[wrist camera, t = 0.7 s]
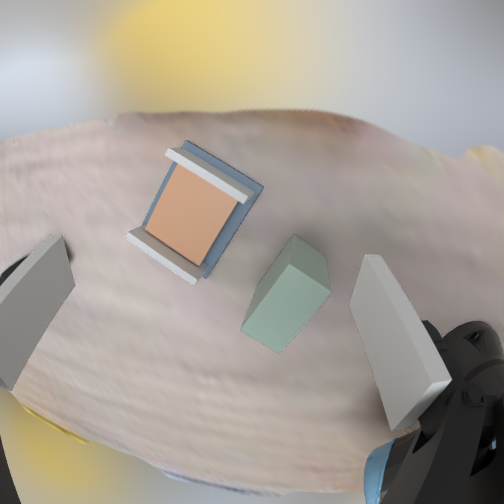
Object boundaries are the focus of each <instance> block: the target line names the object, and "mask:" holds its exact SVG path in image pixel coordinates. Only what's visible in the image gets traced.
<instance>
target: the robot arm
mask: <svg viewBox="0 0 504 504" xmlns="http://www.w3.org/2000/svg"><path fill="white" fill-rule="evenodd" d="M74 287H75V282H74V278H73V275H72V271H71V267H70V263H69V260H68V256H67V252H66V247H65V243H64V239H63V235H51V234H50V235H49V236H48V237H47V238H46V239H45V240H44V241H43V242H42V243H41V244H40V245H39V246H38V247H37V248H36V249H35V250H34V251H33V252H32V253H31V254H30V255H29V256H28V257H27V258H26V259H25V260H24V261H23V262H22V263H21V264H20V265H19V266H18V267H17V268H16V269H15V270H14V271H13V273H12V274H11V275H10V276H9V277H8V278H7V279H6V280H5V281H4V283H3V284H2V285H1V286H0V387H3V388H5V389H7V390H9V391H12V389H13V387H14V385H15V383H16V381H17V380H18V378H19V376H20V374H21V372H22V370H23V368H24V367H25V365H26V363H27V361H28V359H29V358H30V356H31V354H32V352H33V351H34V349H35V347H36V346H37V344H38V342H39V340H40V339H41V337H42V336H43V334H44V332H45V331H46V329H47V327H48V326H49V324H50V323H51V321H52V320H53V318H54V316H55V315H56V313H57V312H58V310H59V309H60V307H61V306H62V304H63V303H64V301H65V300H66V298H67V297H68V295H69V294H70V292H71V291H72V290H73V288H74ZM349 307H350V310H351V313H352V315H353V318H354V321H355V323H356V326H357V329H358V332H359V334H360V337H361V340H362V343H363V345H364V348H365V351H366V354H367V357H368V360H369V363H370V366H371V369H372V372H373V375H374V378H375V381H376V384H377V387H378V390H379V393H380V396H381V400H382V403H383V406H384V409H385V413H386V416H387V419H388V423H389V426H390V430H391V432H392V431H398V430H402V429H407V428H410V427H411V426H412V425H413V424H414V423H415V422H416V421H417V420H418V419H419V422H420V425H421V427H420V428H419V429H417V430H415V431H413V432H411V433H409V434H407V435H404V436H402V437H400V438H394V439H393V440H392V441H391V442H389V443H387V444H385V445H382V446H380V447H378V448H376V449H375V450H373V451H372V452H371V454H370V455H369V456H368V458H367V461H366V465H365V469H364V494H365V500H366V504H504V353H503V349H502V346H501V342H500V339H499V337H498V335H497V333H496V332H495V331H494V330H493V329H492V327H491V326H489V325H488V324H486V323H484V322H470V323H467V324H464V325H462V326H460V327H458V328H456V329H454V330H453V331H451V332H450V333H449V334H448V335H446V336H445V337H444V338H443V339H442V337H441V335H440V334H439V332H438V330H437V329H436V328H435V327H434V326H433V325H432V324H431V323H430V322H429V321H428V320H426V321H421V320H420V318H419V316H418V315H417V313H416V311H415V309H414V308H413V306H412V304H411V303H410V301H409V299H408V298H407V296H406V294H405V293H404V291H403V290H402V288H401V286H400V285H399V283H398V281H397V280H396V278H395V277H394V275H393V274H392V272H391V270H390V269H389V267H388V266H387V264H386V263H385V261H384V260H383V258H382V257H381V255H372V254H364V258H363V261H362V265H361V268H360V271H359V274H358V278H357V281H356V284H355V287H354V290H353V293H352V296H351V299H350V302H349ZM0 504H21V502H20V499H19V497H18V494H17V491H16V489H15V486H14V483H13V480H12V477H11V474H10V470H9V467H8V464H7V460H6V457H5V453H4V449H3V445H2V441H1V437H0Z"/></svg>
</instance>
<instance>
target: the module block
mask: <svg viewBox="0 0 504 504" xmlns="http://www.w3.org/2000/svg"><path fill="white" fill-rule="evenodd" d="M331 293H332V289H331V284H330V279H329V274H328V269H327V264H326V259H325V255H324V254H323V253H321V252H320V251H318V250H317V249H316V248H314V247H313V246H311V245H310V244H308V243H307V242H305V241H304V240H302V239H301V238H299V237H298V236H296V235H295V234H293V235H292V237H291V238H290V240H289V241H288V242H287V244H286V245H285V247H284V248H283V250H282V251H281V252H280V254H279V255H278V257H277V258H276V260H275V261H274V262H273V264H272V265H271V267H270V268H269V270H268V271H267V272H266V274H265V275H264V277H263V278H262V279H261V281H260V282H259V284H258V285H257V287H256V290H255V293H254V295H253V298H252V300H251V303H250V306H249V308H248V311H247V313H246V316H245V319H244V321H243V324H242V326H241V329H240V331H242V332H244V333H245V334H247V335H248V336H250V337H252V338H253V339H255V340H257V341H258V342H260V343H262V344H263V345H265V346H267V347H268V348H270V349H272V350H274V351H275V352H277V353H279V354H280V353H281V352H282V351H283V349H284V348H285V347H286V346H287V345H288V344H289V343H290V342H291V340H292V339H293V338H294V337H295V336H296V335H297V333H298V332H299V331H300V330H301V329H302V328H303V327H304V325H305V324H306V323H307V322H308V321H309V319H310V318H311V317H312V316H313V315H314V313H315V312H316V311H317V310H318V309H319V307H320V306H321V305H322V304H323V303H324V301H325V300H326V299H327V298H328V296H329V295H330V294H331Z"/></svg>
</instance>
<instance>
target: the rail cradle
mask: <svg viewBox="0 0 504 504" xmlns="http://www.w3.org/2000/svg"><path fill="white" fill-rule="evenodd" d="M165 156H167V157H168V158H170V159H172V160H173V161H174V162H173V164H172V166H171V168H170V169H169V171H168V173H167V175H166V177H165V179H164V181H163V183H162V185H161V187H160V189H159V191H158V193H157V195H156V197H155V199H154V201H153V203H152V205H151V207H150V210H149V212H148V214H147V216H146V218H145V220H144V222H143V225H142V226H140V227H138V228H136V229H133V230H131V231H129V232H128V234H127V236H126V239H128V240H129V241H130V242H132V243H133V244H134V245H136V246H137V247H139V248H140V249H141V250H143V251H144V252H146V253H147V254H148V255H150V256H151V257H153V258H154V259H156V260H157V261H158V262H160V263H161V264H163V265H164V266H166V267H167V268H169V269H170V270H171V271H173V272H174V273H176V274H177V275H179V276H180V277H182V278H183V279H185V280H186V281H188V282H189V283H191V284H192V285H195V284H196V283H197V282H198V281H199V280H200V278H201V277H203V278H205V279H206V278H207V277H208V276H209V274H210V272H211V271H212V269H213V268H214V266H215V264H216V263H217V261H218V259H219V258H220V256H221V255H222V253H223V251H224V250H225V248H226V246H227V245H228V243H229V242H230V240H231V238H232V237H233V235H234V234H235V232H236V230H237V229H238V227H239V226H240V224H241V222H242V221H243V219H244V218H245V216H246V214H247V213H248V211H249V210H250V208H251V206H252V205H253V203H254V202H255V200H256V199H257V197H258V195H259V194H260V192H261V191H262V189H263V188H264V187H263V186H261V185H260V184H258V183H257V182H255V181H254V180H252V179H250V178H249V177H247V176H246V175H244V174H242V173H241V172H239V171H238V170H236V169H234V168H233V167H231V166H229V165H228V164H226V163H224V162H223V161H221V160H220V159H218V158H216V157H215V156H213V155H211V154H210V153H208V152H206V151H204V150H203V149H201V148H199V147H198V146H196V145H194V144H192V143H191V142H189V141H185V142H184V144H183V145H182V147H181V149H180V148H168V150H167V151H166V153H165ZM177 164H180V165H182V166H183V167H185V168H186V169H188V170H190V171H191V172H193V173H195V174H196V175H198V176H199V177H201V178H203V179H204V180H206V181H207V182H209V183H211V184H212V185H214V186H215V187H217V188H219V189H220V190H222V191H223V192H225V193H227V194H228V195H230V196H231V197H233V198H234V199H236V200H238V201H239V202H238V203H237V205H236V207H235V208H234V210H233V211H232V213H231V215H230V216H229V218H228V220H227V221H226V223H225V225H224V226H223V228H222V230H221V231H220V233H219V235H218V236H217V238H216V240H215V241H214V243H213V245H212V246H211V248H210V250H209V251H208V253H207V255H206V256H205V258H204V260H203V262H202V263H201V265H200V266H198V265H197V264H195V263H194V262H192V261H191V260H189V259H188V258H186V257H185V256H183V255H182V254H180V253H179V252H177V251H176V250H174V249H173V248H171V247H170V246H168V245H167V244H165V243H164V242H163V241H161V240H160V239H158V238H157V237H155V236H154V235H152V234H151V233H150V232H148V231H147V230H145V228H146V226H147V224H148V221H149V219H150V217H151V215H152V213H153V211H154V209H155V207H156V205H157V203H158V201H159V199H160V197H161V195H162V193H163V191H164V189H165V187H166V185H167V183H168V181H169V179H170V177H171V175H172V173H173V171H174V169H175V168H176V166H177Z"/></svg>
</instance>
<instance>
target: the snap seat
mask: <svg viewBox="0 0 504 504" xmlns="http://www.w3.org/2000/svg"><path fill="white" fill-rule="evenodd" d="M238 202H239V201H238V200H236V199H234V198H233V197H231V196H230V195H228V194H227V193H225V192H223V191H222V190H220V189H219V188H217V187H215V186H214V185H212V184H211V183H209V182H207V181H206V180H204V179H203V178H201V177H199V176H198V175H196V174H195V173H193V172H191V171H190V170H188V169H186V168H185V167H183V166H182V165H180V164H177V166H176V168H175V169H174V171H173V173H172V175H171V177H170V179H169V181H168V183H167V185H166V187H165V189H164V191H163V193H162V195H161V197H160V199H159V201H158V203H157V205H156V207H155V209H154V211H153V213H152V215H151V217H150V219H149V221H148V224H147V226H146V228H145V230H147V231H148V232H150V233H151V234H152V235H154V236H155V237H157V238H158V239H160V240H161V241H163V242H164V243H165V244H167V245H168V246H170V247H171V248H173V249H174V250H176V251H177V252H179V253H180V254H182V255H183V256H185V257H186V258H188V259H189V260H191V261H192V262H194V263H195V264H197V265H198V266H200V265H201V263H202V262H203V260H204V258H205V256H206V255H207V253H208V251H209V250H210V248H211V246H212V245H213V243H214V241H215V240H216V238H217V236H218V235H219V233H220V231H221V230H222V228H223V226H224V225H225V223H226V221H227V220H228V218H229V216H230V215H231V213H232V211H233V210H234V208H235V207H236V205H237V203H238Z"/></svg>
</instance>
